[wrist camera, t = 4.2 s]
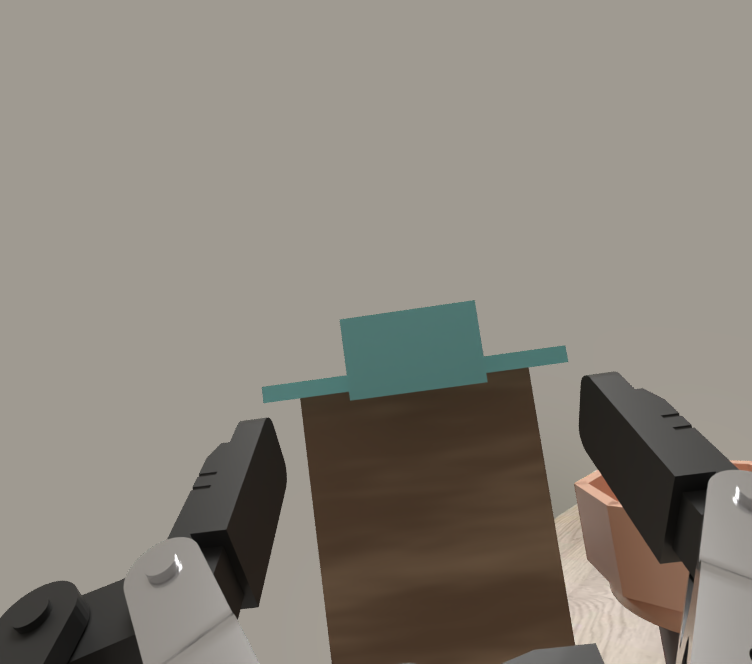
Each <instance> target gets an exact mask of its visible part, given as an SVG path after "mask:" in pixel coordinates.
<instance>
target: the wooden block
mask: <svg viewBox="0 0 752 664" xmlns="http://www.w3.org/2000/svg"><path fill="white" fill-rule="evenodd" d="M486 375H487V382H485V383H478V384H470V385H463V386H455V387H448V388H440V389H433V390H426V391H418V392H411V393H403V394H396V395H388V396H381V397H373V398H366V399H358V400H351V401H350V395H349V392H342V393H335V394H327V395H320V396H312V397H305V398H300V400H301V408H302V417H303V425H304V433H305V441H306V450H307V458H308V467H309V476H310V484H311V492H312V500H313V509H314V517H315V526H316V534H317V543H318V550H319V559H320V568H321V576H322V585H323V593H324V601H325V610H326V618H327V626H328V635H329V643H330V652H331V660H332V664H401V663H414V664H502V663H504V662H507V661H509V660H511V659H514V658H516V657H518V656H521V655H523V654H525V653H528V652H530V651H532V650H537V649H547V648H556V647H566V646H575V642H574V636H573V630H572V624H571V618H570V612H569V606H568V600H567V594H566V588H565V582H564V576H563V570H562V564H561V558H560V552H559V547H558V541H557V535H556V529H555V523H554V517H553V511H552V505H551V499H550V493H549V487H548V481H547V475H546V470H545V464H544V458H543V451H542V446H541V439H540V434H539V428H538V422H537V416H536V410H535V404H534V399H533V393H532V386H531V380H530V374H529V368H528V367H527V368H519V369H512V370H505V371H497V372H490V373H486Z"/></svg>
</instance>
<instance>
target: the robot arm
mask: <svg viewBox="0 0 752 664" xmlns="http://www.w3.org/2000/svg"><path fill="white" fill-rule="evenodd" d="M579 433H580V438H581V441H582V444H583V446H584V449H585V450H586V452H587V454H588V455H589V457H590V458H591V460H592V461H593V463H594V464H595V466H596V467H597V469H598V470H599V472H600V473H601V475H602V476H603V478H604V480H605V481H606V483H607V484H608V486H609V487H610V489H611V490H612V492H613V493H614V495H615V496H616V498H617V499H618V501H619V502H620V504H621V505H622V507H623V508H624V510H625V512H626V513H627V515H628V516H629V518H630V519H631V521H632V522H633V524H634V525H635V527H636V528H637V530H638V531H639V533H640V534H641V536H642V537H643V539H644V540H645V542H646V543H647V545H648V547H649V548H650V550H651V551H652V553H653V554H654V556H655V557H656V559H657V560H658V562H659V563H660V564H665V563H674V562H682V563H683V564H684V566H685V567H686V568H687V570H688V571H689V575H688V579H687V585H686V592H685V600H684V607H683V614H682V622H681V629H680V636H679V644H678V651H677V658H676V664H752V472H751V471H744V470H739V469H738V468H737V467H736V466H735V465H734V464H733V463H732V462H730V461H729V460H728V459H727V458H726V457H725V456H724V455H723V454H722V453H721V452H720V451H719V450H718V449H717V448H716V447H715V446H713V445H712V444H711V443H710V442H709V441H708V440H707V439H706V438H705V437H704V436H702V434H701V433H700V432H699V431H697V430H696V429H695V428H692V426H691V424H690V423H689V422H688V421H687V420H686V419H685V418H684V417H683V416H679V413H678V412H677V411H676V410H675V409H674V408H673V407H672V406H671V405H670V404H669V403H668V402H667V401H666V400H665V399H663V398H661V397H659V396H657V395H655V394H653V393H651V392H649V391H647V390H645V389H634V388H633V387H632V386H631V385H630V384H629V383H628V382H627V381H626V380H625V379H624V378H623V377H622V376H621V375H620V374H619V373H618V372H608V373H601V374H593V375H586V376H584V377H583V378H582V380H581V391H580V411H579ZM286 483H287V473H286V466H285V461H284V458H283V455H282V452H281V448H280V445H279V442H278V439H277V435H276V432H275V429H274V426H273V423H272V421H271V419H270V418H262V419H254V420H246V421H240V422H239V423H238V425H237V427H236V430H235V432H234V434H233V436H232V439H231V441H230V442H228V443H221V444H220V445H219V446H218V447H217V448H216V449H215V450H214V451H213V452H212V453H211V454H210V455H209V456H208V458H207V459H206V461H205V463H204V465H203V467H202V469H201V471H200V473H199V477H197V479H196V481H195V483H194V485H193V490H192V491H191V492H190V494H189V496H188V498H187V500H186V502H185V504H184V506H183V508H182V510H181V512H180V514H179V516H178V518H177V520H176V522H175V524H174V527H173V528H172V531H171V533H170V535H169V537H168V539H167V540H165V541H163V542H160V543H158V544H156V545H155V546H153V547H151V548H150V549H148V550H147V551H146V552H145V553H143V554H142V555H141V556H140V557H139V558H138V559H137V560H136V561H135V562H134V564H133V565H132V566H131V568H130V569H129V572H128V573H127V575H126V578H124V579H122V580H120V581H117V582H115V583H112V584H110V585H107V586H105V587H102V588H100V589H97V590H94V591H92V592H90V593H87V594H84V595H81V594H80V592H79V591H78V589H77V588H76V586H75V585H74V584H73V583H71V582H68V581H56V582H52V583H49V584H46V585H43V586H41V587H39V588H37V589H35V590H33V591H31V592H30V593H28V594H27V595H25V596H24V597H22V598H21V599H20V600H18V601H17V602H16V603H15V604H14V605H12V606H11V607H10V608H9V609H8V610H7V611H6V612H5V613H4V614H3V615H2V617H1V618H0V664H259V662H258V660H257V658H256V656H255V654H254V652H253V650H252V648H251V646H250V644H249V642H248V640H247V638H246V636H245V634H244V632H243V630H242V628H241V626H240V624H239V622H238V617H239V613H240V609H247V608H255V607H259V603H260V598H261V594H262V590H263V585H264V580H265V576H266V572H267V568H268V563H269V559H270V555H271V550H272V546H273V541H274V537H275V533H276V529H277V524H278V520H279V515H280V511H281V506H282V503H283V498H284V494H285V490H286ZM401 664H414V663H401ZM502 664H604V662H603V660H602V657H601V655H600V653H599V650H598V648H597V646H596V643H595V644H585V645H576V646H566V647H556V648H547V649H537V650H532V651H530V652H528V653H525V654H523V655H521V656H518V657H516V658H514V659H511V660H509V661H507V662H504V663H502Z"/></svg>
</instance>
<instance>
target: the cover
mask: <svg viewBox="0 0 752 664" xmlns="http://www.w3.org/2000/svg"><path fill="white" fill-rule="evenodd" d="M340 326H341V332H342V341H343V349H344V356H345V364H346V371H347V376H339V377H332V378H324V379H317V380H310V381H302V382H295V383H288V384H281V385H274V386H266V387H262V393H263V402H264V403H267V402H275V401H282V400H290V399H297V398H305V397H312V396H320V395H327V394H335V393H342V392H349V395H350V401H351V400H358V399H366V398H373V397H381V396H388V395H396V394H403V393H411V392H418V391H426V390H433V389H440V388H448V387H455V386H463V385H470V384H478V383H485V382H487V375H486V373H490V372H497V371H505V370H512V369H519V368H527V367H534V366H541V365H549V364H556V363H564V362H568V358H567V352H566V347H565V346H557V347H550V348H543V349H535V350H528V351H521V352H514V353H506V354H499V355H492V356H483V350H482V344H481V338H480V332H479V325H478V319H477V312H476V306H475V301H474V300H473V301H466V302H459V303H452V304H445V305H438V306H431V307H425V308H417V309H410V310H404V311H396V312H390V313H382V314H376V315H369V316H362V317H355V318H348V319H341V320H340Z"/></svg>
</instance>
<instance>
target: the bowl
mask: <svg viewBox="0 0 752 664" xmlns="http://www.w3.org/2000/svg"><path fill="white" fill-rule="evenodd" d="M729 461H730V460H729ZM730 462H732V463H733V464H734V465H735V466H736V467H737V468H738V469H739V470H744V471H751V472H752V461H734V460H733V461H732V460H731V461H730ZM574 486H575V492H576V498H577V503H578V509H579V515H580V521H581V526H582V532H583V538H584V544H585V550H586V555H587V560H588V561H589V562H590V563H591V564H592V565H593V566H594V567H595V568H596V569H597V570H598V571H599V572H600V573H601V574H602V575H603V576H604V577H605V578H606V579H607V580H608V581H609V583H610V588H611V591H612V593H613V595H614V596H615V597H616V599H617V600H618V601H619V602H620V603H621V604H622V605H623V606H624V607H626V608H627V609H628V610H630V611H631V612H632V613H634V614H636V615H638V616H639V617H641V618H643V619H645V620H647V621H649V622H651V623H653V624H655V625H658V626H659V629H660V634H661V640H662V645H663V651H664V656H665V661H666V664H676V658H677V651H678V644H679V636H680V629H681V622H682V614H683V607H684V600H685V592H686V585H687V579H688V575H689V571H688V570H687V568H686V567H685V566H684V564H683V563H682V562H674V563H665V564H660V563H659V562H658V560H657V559H656V557H655V556H654V554H653V553H652V551H651V550H650V548H649V547H648V545H647V543H646V542H645V540H644V539H643V537H642V536H641V534H640V533H639V531H638V530H637V528H636V527H635V525H634V524H633V522H632V521H631V519H630V518H629V516H628V515H627V513H626V512H625V510H624V508H623V507H622V505H621V504H620V502H619V501H618V499H617V498H616V496H615V495H614V493H613V492H612V490H611V489H610V487H609V486H608V484H607V483H606V481H605V480H604V478H603V476H602V475H601V473H600V472H599V470H596V471H595V472H593V473H591V474H590V475H588V476H586V477H584V478H583V479H581V480H579V481H578V482H576V483H574Z"/></svg>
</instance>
